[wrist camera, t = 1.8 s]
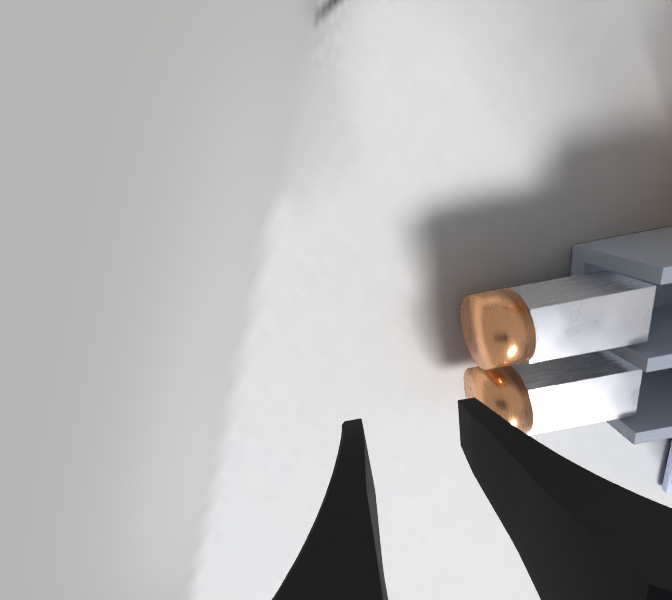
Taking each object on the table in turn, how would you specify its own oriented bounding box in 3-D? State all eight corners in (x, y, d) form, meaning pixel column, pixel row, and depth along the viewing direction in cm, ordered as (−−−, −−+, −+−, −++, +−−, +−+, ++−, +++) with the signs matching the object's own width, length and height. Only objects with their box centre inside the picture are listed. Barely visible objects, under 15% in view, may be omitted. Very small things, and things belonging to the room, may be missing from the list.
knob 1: (592, 322, 20) (655, 355, 16) (461, 347, 20) (494, 385, 16) (598, 259, 19) (668, 278, 15) (458, 285, 19) (493, 311, 15)
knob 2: (586, 386, 22) (642, 429, 18) (465, 408, 22) (496, 456, 18) (591, 331, 20) (653, 365, 17) (462, 355, 20) (495, 395, 17)
